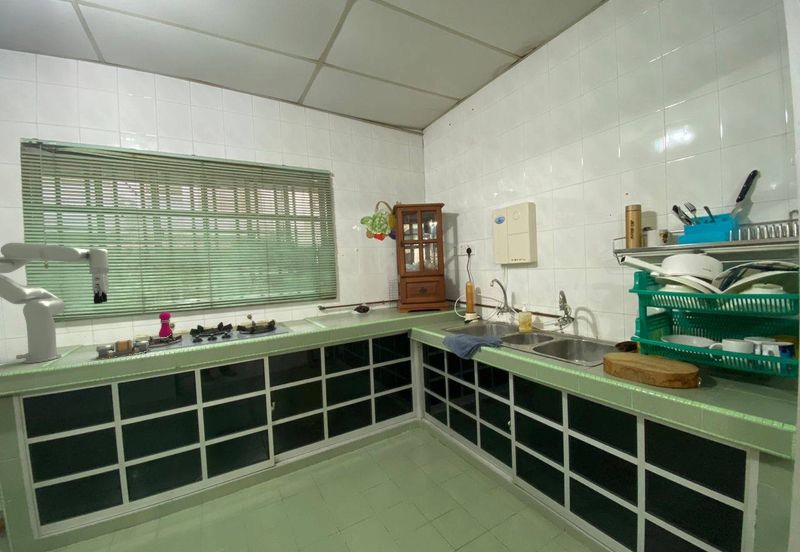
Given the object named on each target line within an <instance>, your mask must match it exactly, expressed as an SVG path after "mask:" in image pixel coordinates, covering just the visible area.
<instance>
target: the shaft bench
mask: <svg viewBox="0 0 800 552" xmlns="http://www.w3.org/2000/svg"><path fill="white" fill-rule="evenodd" d="M148 346H150V342H149V340H142V341H135V340H134V341H132V350H124V351H117V352H115V343H112V344H109V345H101V346H96V348H95V350H96V353H97V354H98V355H97V356H96V357H95V360H96V359H101V360H103V359H102V358H108V359H110V358H109V357H115V356H122V355H129V354H134V353H139V352H144V351H147V350H148V349H149V350H150V347H148ZM115 358H116V357H115Z"/></svg>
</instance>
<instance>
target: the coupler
mask: <svg viewBox="0 0 800 552" xmlns="http://www.w3.org/2000/svg"><path fill="white" fill-rule="evenodd" d="M114 346H115V349H114V352H117V351H124V350H132V347H133V341H132V339H127V340H116V341H115V342H114Z"/></svg>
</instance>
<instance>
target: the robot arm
mask: <svg viewBox="0 0 800 552" xmlns="http://www.w3.org/2000/svg"><path fill="white" fill-rule="evenodd" d="M0 253H1V255H2V256H0V298H2V299H3V300H5V301H7V302H8V303H11V304H13V305H23V308H22V313H23V316H24V319H25V323H26V333H27V334H26V337H27V348H28V349H27V351H28V352H27V353H24V354H16V357H15V359H16V360H21V359H22V360H23V359H24V360H23V363H25V364H34V363H36V364H37V363H42V362H43V363H44V362H49V361H54V360H57V359H59V358H61V357H62V354H60V353H58V352H57V351H58V350H57V336H56V334H57V333H56V332H57V330H56V324H55V320H54V317H53V316H57V315H60V314H62V313H63V312H64V311H65V310H66V304H65V302H64V300H63V299H61V298H60V297H58V296H56V295H55V294H53V293H52V292H50V291H49V290H47V289H46V288H43V287H41V286H37V285H32V284H31V285H29V284H28V285H23V284H21V283H18V282H17V281H15V280H14V279H12V278H10V277H9V276H7V275H3V274H9V273H13V272H15V271H16V270H18V269H20V268H23V267H24V266H26V265H27V264H29V263H30V262H32V261H36V262H37V261H39V262H49V261H52V262H66V263H67V262H68V263H88V267H89V268H88V269H89V270H88V271H89V275H91V288H92V292H93V304H94V305H96V304H98V305H99V304H103V303H107V302H108V295H107V292H109V291H110V289H109V288H110V286H109V285H110V284H109V277H108V275H109V274H110V271H109V270H110V269H109V268H110V267H109V266H110V265H109V251H108V250H107V249H106V248H90V249H88V248H79V247H72V246H70V247H68V246H58V245H57V246H54V245H53V246H52V245H48V244H39V243H27V242H26V243H23V242H9V243H5V244H3V245H1V247H0Z"/></svg>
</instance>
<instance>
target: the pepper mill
mask: <svg viewBox="0 0 800 552" xmlns="http://www.w3.org/2000/svg"><path fill="white" fill-rule="evenodd" d="M171 317H172V315H171V313H170V312H167V310H166V309H164V310H162V312H161V313H159V316H158V319H159V320H160V324H161V325H160V329H159V332H158V337H160V338H161V337H167V336H169V335H170V334H173V330H172V328H171V326H170V322H171ZM173 335H174V334H173Z"/></svg>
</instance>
